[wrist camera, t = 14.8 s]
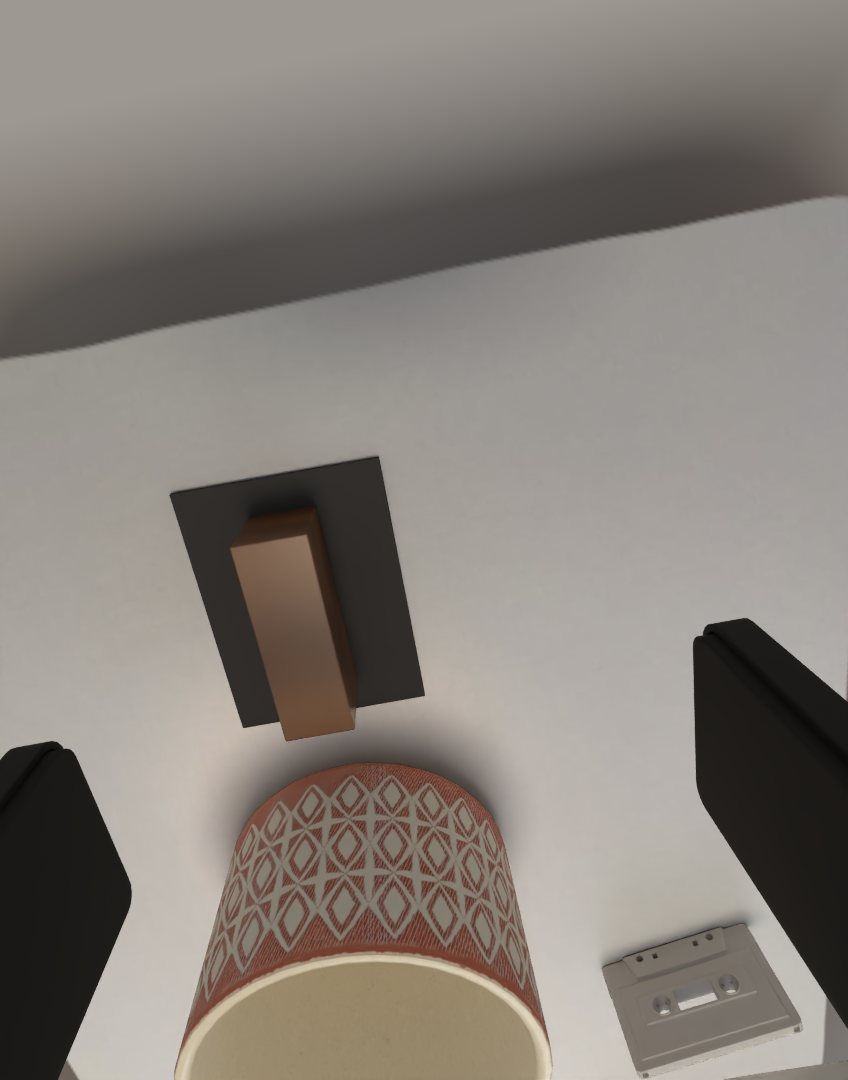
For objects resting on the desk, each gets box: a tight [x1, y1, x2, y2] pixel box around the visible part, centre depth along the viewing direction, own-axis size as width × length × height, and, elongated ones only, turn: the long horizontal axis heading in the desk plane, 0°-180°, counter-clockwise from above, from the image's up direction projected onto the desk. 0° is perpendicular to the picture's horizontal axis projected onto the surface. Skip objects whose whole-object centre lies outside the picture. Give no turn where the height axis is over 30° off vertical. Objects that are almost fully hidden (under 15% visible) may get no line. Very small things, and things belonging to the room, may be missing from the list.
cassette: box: [603, 924, 803, 1079], centre depth 48 cm, size 12×2×8 cm, turn 110°
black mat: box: [170, 457, 425, 728], centre depth 39 cm, size 16×12×1 cm
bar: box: [230, 506, 358, 741], centre depth 37 cm, size 12×4×5 cm, turn 10°
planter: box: [174, 763, 553, 1080], centre depth 40 cm, size 19×19×15 cm
